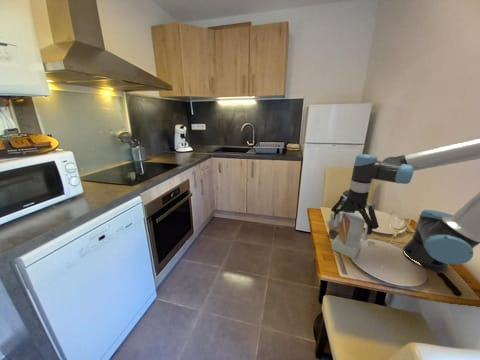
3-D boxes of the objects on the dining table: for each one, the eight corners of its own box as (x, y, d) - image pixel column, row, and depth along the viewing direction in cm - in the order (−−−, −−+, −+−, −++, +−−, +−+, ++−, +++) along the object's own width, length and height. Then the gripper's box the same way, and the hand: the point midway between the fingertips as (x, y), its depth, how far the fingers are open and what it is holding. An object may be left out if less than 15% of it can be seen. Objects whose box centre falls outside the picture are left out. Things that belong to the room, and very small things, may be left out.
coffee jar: (353, 224, 118) (360, 196, 112) (339, 222, 120) (345, 194, 114) (351, 217, 126) (357, 190, 121) (337, 215, 129) (342, 188, 123)
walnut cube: (340, 236, 106) (342, 228, 104) (338, 240, 102) (339, 232, 101) (331, 233, 109) (332, 225, 107) (328, 237, 105) (329, 228, 104)
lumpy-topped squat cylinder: (346, 223, 119) (349, 210, 117) (352, 235, 107) (355, 221, 105) (328, 220, 122) (330, 208, 119) (331, 232, 110) (334, 218, 107)
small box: (337, 235, 98) (342, 212, 94) (351, 236, 98) (356, 212, 94) (344, 246, 91) (350, 220, 87) (359, 246, 90) (365, 221, 86)
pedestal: (360, 249, 96) (362, 241, 94) (353, 259, 89) (356, 250, 88) (338, 241, 103) (340, 232, 101) (331, 249, 96) (332, 240, 94)
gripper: (396, 198, 78) (383, 243, 85) (337, 181, 98) (330, 219, 105) (388, 202, 74) (375, 249, 81) (328, 183, 94) (321, 222, 101)
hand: (349, 232), depth 93 cm, fingers open, 13 cm apart
